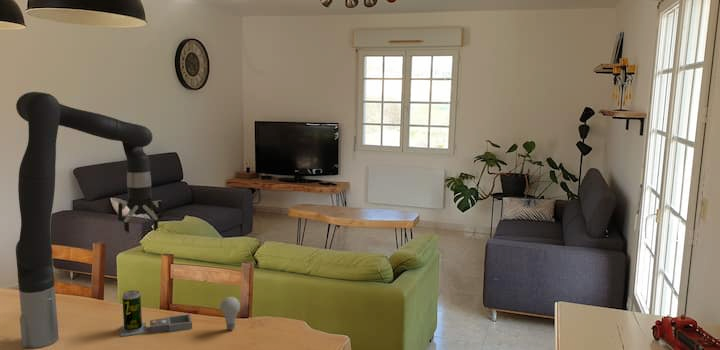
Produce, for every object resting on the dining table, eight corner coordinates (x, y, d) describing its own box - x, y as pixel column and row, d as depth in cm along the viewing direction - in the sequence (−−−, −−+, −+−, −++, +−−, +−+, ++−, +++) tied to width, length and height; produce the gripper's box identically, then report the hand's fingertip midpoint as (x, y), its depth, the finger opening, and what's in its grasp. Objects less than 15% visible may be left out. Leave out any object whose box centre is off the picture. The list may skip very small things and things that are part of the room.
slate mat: (120, 337, 172) (120, 335, 172) (120, 327, 179) (120, 326, 179) (146, 333, 175) (146, 332, 175) (145, 323, 182) (145, 322, 182)
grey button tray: (150, 334, 174) (150, 326, 173) (150, 325, 180) (149, 317, 180) (192, 328, 179) (191, 320, 178) (189, 320, 185) (189, 312, 185)
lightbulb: (243, 326, 181) (242, 294, 179) (237, 334, 175) (236, 301, 173) (224, 325, 182) (224, 293, 180) (218, 333, 176) (217, 300, 174)
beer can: (123, 327, 178) (121, 291, 176) (141, 324, 180) (139, 289, 178) (125, 333, 173) (123, 297, 171) (143, 330, 176) (141, 294, 174)
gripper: (116, 187, 180) (118, 235, 183) (162, 185, 186) (164, 232, 188) (116, 183, 187) (119, 230, 189) (161, 181, 192) (163, 227, 195)
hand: (141, 231), depth 189 cm, fingers open, 8 cm apart
